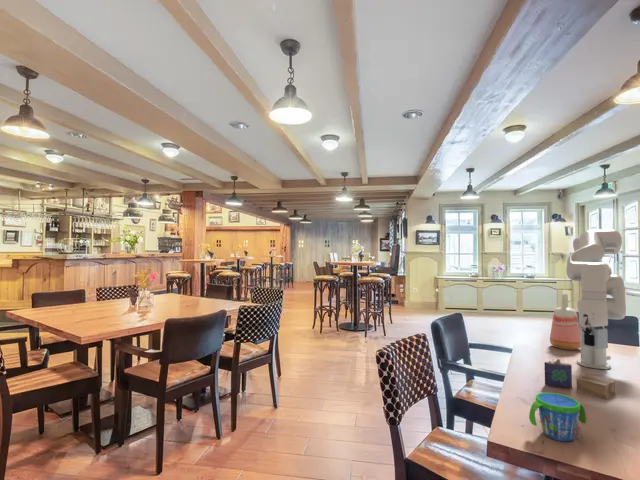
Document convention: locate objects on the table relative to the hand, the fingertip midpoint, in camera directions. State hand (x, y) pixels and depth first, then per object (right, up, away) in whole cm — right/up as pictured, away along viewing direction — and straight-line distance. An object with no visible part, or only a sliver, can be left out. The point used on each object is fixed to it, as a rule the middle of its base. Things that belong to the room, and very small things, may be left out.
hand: (594, 344), depth 133 cm
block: (0, -18, -1) cm, 18 cm away
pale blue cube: (0, -1, 0) cm, 1 cm away
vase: (+32, -21, +63) cm, 73 cm away
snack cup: (-36, -17, -33) cm, 51 cm away
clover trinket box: (-10, -18, +5) cm, 21 cm away
